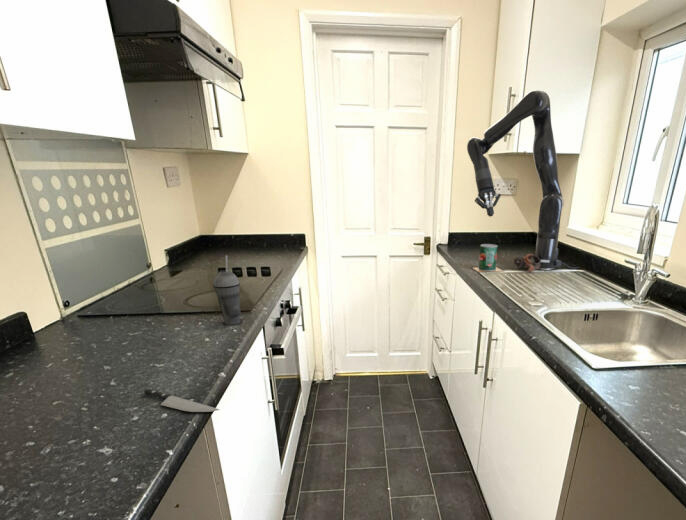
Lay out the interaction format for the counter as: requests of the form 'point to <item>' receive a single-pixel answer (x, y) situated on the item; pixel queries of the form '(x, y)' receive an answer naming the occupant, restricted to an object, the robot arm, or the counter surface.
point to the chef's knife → (180, 402)
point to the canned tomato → (488, 257)
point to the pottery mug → (527, 262)
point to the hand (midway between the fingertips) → (491, 215)
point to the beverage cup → (228, 295)
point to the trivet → (486, 271)
